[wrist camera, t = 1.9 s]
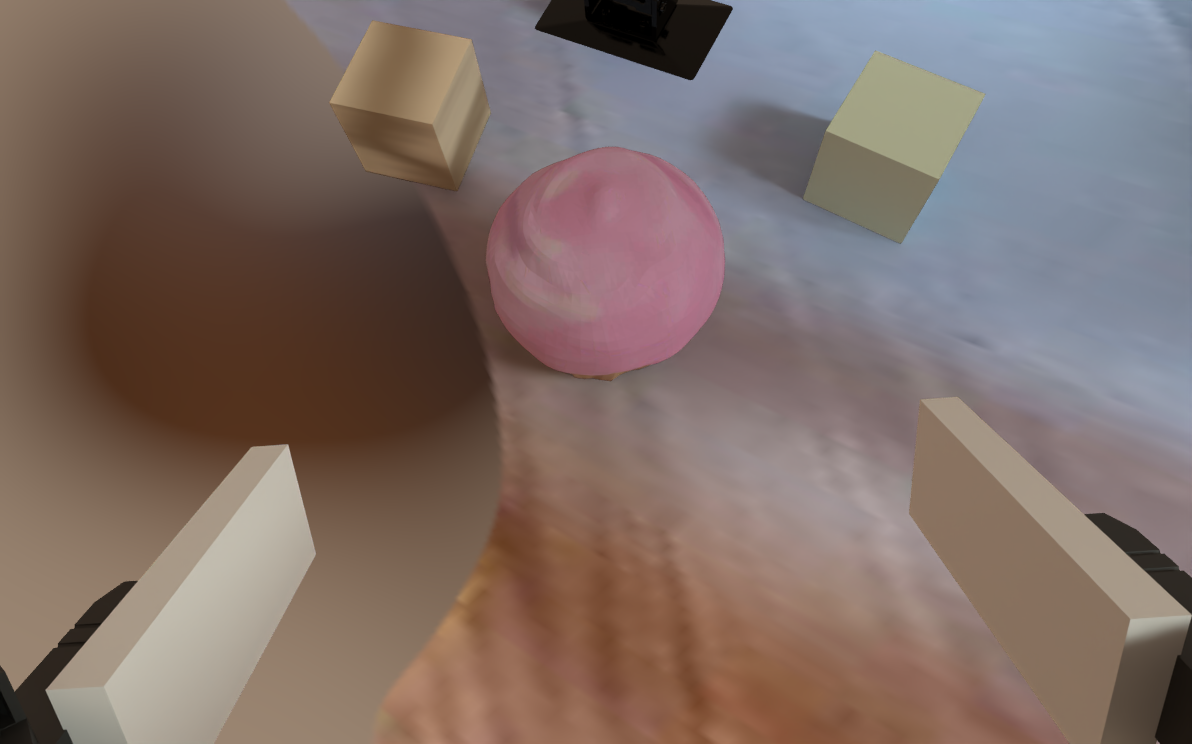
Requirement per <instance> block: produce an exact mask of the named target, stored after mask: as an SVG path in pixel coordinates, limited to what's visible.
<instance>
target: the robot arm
mask: <svg viewBox="0 0 1192 744" xmlns="http://www.w3.org/2000/svg"><path fill="white" fill-rule="evenodd" d="M909 514H910V516H911V517H912V518H913V520H914V521H915V523H916V524H917V526H918V527H919V529H920V530H921V531H922V533H923V534H924V536H925V537H926V539H927V540H928V541H929V543H930V544H931V546H932V547H933V549H934V550H935V551H936V553H937V554H938V556H939V557H940V559H941V560H942V561H943V563H944V564H945V566H946V567H947V569H948V570H949V572H950V573H951V574H952V576H953V577H954V579H955V580H956V582H957V583H958V584H959V586H960V587H961V589H962V590H963V592H964V593H965V594H966V596H967V597H968V599H969V600H970V602H971V603H972V604H973V606H974V607H975V609H976V610H977V612H978V613H979V615H980V616H981V617H982V619H983V620H984V622H985V623H986V625H987V626H988V627H989V629H990V630H991V632H992V633H993V635H994V636H995V637H996V639H997V640H998V642H999V643H1000V645H1001V646H1002V647H1003V649H1004V650H1005V652H1006V653H1007V655H1008V656H1009V658H1010V659H1011V660H1012V662H1013V663H1014V665H1015V666H1016V668H1017V669H1018V670H1019V672H1020V673H1021V675H1022V676H1023V678H1024V679H1025V680H1026V682H1027V683H1028V685H1029V686H1030V688H1031V689H1032V690H1033V692H1034V693H1035V695H1036V696H1037V698H1038V699H1039V701H1040V702H1041V703H1042V705H1043V706H1044V708H1045V709H1046V711H1047V712H1048V713H1049V715H1050V716H1051V718H1052V719H1053V721H1054V722H1055V723H1056V725H1057V726H1058V728H1059V729H1060V731H1061V732H1062V734H1063V735H1064V736H1065V738H1066V739H1067V741H1068V742H1069V744H1156V742H1157V740H1158V742H1159V743H1160V744H1192V578H1191V577H1190V576H1189V575H1188V574H1187V573H1186V572H1185V571H1180V570H1179V566H1178V565H1176V564H1175V563H1174V562H1173V561H1172V560H1171V559H1170V558H1168V557H1167V556H1166V555H1165V554H1160V550H1159V549H1158V548H1157V547H1156V546H1155V545H1153V544H1152V543H1151V542H1150V541H1149V540H1148V539H1147V538H1145V537H1144V536H1143V535H1142V534H1141V533H1140V532H1139V531H1137V530H1136V529H1134V528H1132V527H1130V526H1128V525H1126V524H1124V523H1122V522H1121V521H1119V520H1117V519H1115V518H1113V517H1111V516H1109V515H1107V514H1105V513H1096V514H1083V513H1082V512H1081V511H1080V510H1079V509H1077V508H1076V507H1075V506H1074V505H1073V504H1072V503H1071V502H1070V501H1069V500H1068V499H1067V498H1066V497H1065V496H1064V495H1062V494H1061V493H1060V492H1059V491H1058V490H1057V489H1056V488H1055V487H1054V486H1053V485H1052V484H1051V483H1050V482H1048V481H1047V480H1046V479H1045V478H1044V477H1043V476H1042V475H1041V474H1040V473H1039V472H1038V471H1037V470H1036V469H1035V468H1033V467H1032V466H1031V465H1030V464H1029V463H1028V462H1027V461H1026V460H1025V459H1024V458H1023V457H1022V456H1021V455H1019V454H1018V453H1017V452H1016V451H1015V450H1014V449H1013V448H1012V447H1011V446H1010V445H1009V444H1008V443H1007V442H1006V441H1004V440H1003V439H1002V438H1001V437H1000V436H999V435H998V434H997V433H996V432H995V431H994V430H993V429H992V428H990V427H989V426H988V425H987V424H986V423H985V422H984V421H983V420H982V419H981V418H980V417H979V416H978V415H977V414H975V413H974V412H973V411H972V410H971V409H970V408H969V407H968V406H967V405H966V404H965V403H964V402H963V401H962V400H960V399H959V398H958V397H949V398H935V399H920V406H919V416H918V427H917V437H916V447H915V458H914V468H913V478H912V488H911V499H910V509H909ZM315 555H316V552H315V548H314V544H313V540H312V536H311V533H310V528H309V525H308V521H307V517H306V513H305V509H304V506H303V501H302V497H301V493H300V489H299V486H298V482H297V478H296V474H295V470H294V466H293V462H292V459H291V454H290V450H289V447H288V444H287V445H273V446H259V447H251V448H250V450H249V451H248V452H247V453H246V454H245V456H244V457H243V458H242V459H241V460H240V461H239V463H238V464H237V465H236V466H235V467H234V468H233V470H232V471H231V472H230V473H229V474H228V475H227V477H226V478H225V479H224V480H223V482H222V483H221V484H220V485H219V486H218V487H217V488H216V490H215V491H214V492H213V493H212V494H211V496H210V497H209V498H208V499H207V500H206V501H205V503H204V504H203V505H202V506H201V507H200V509H199V510H198V511H197V512H196V513H195V514H194V516H193V517H192V518H191V519H190V520H189V522H188V523H187V524H186V525H185V526H184V527H183V529H182V530H181V531H180V532H179V533H178V535H177V536H176V537H175V538H174V539H173V540H172V542H171V543H170V544H169V545H168V546H167V548H166V549H165V550H164V551H163V552H162V553H161V555H160V556H159V557H158V558H157V559H156V561H155V562H154V563H153V564H152V565H151V566H150V568H149V569H148V570H147V571H146V572H145V574H144V575H143V576H142V577H141V578H140V579H139V581H128V582H123V583H122V584H120V585H119V586H117V587H116V588H114V589H113V590H112V591H110V592H109V593H107V594H106V595H104V596H103V597H102V598H100V599H99V600H97V601H96V602H95V603H94V604H93V605H92V606H91V607H90V608H89V609H88V610H87V612H86V613H85V614H84V615H83V616H82V617H81V618H80V619H79V620H78V622H77V623H76V624H75V628H74V629H70V631H69V632H68V633H67V634H66V635H65V636H64V637H63V638H62V639H61V641H60V642H59V643H58V647H57V648H53V649H52V651H51V652H50V653H49V654H48V655H47V656H46V657H45V658H44V660H43V661H42V662H41V663H40V664H39V665H38V666H37V667H36V669H35V670H34V671H33V672H32V673H31V674H30V675H29V676H28V677H27V679H26V680H25V681H24V682H23V683H22V684H21V685H20V686H19V688H18V689H17V690H16V691H15V692H14V690H13V688H12V686H11V684H10V681H9V679H8V677H7V675H6V673H5V671H4V670H3V669H2V667H1V666H0V744H214V743H215V741H216V739H217V737H218V735H219V733H220V731H221V730H222V728H223V726H224V724H225V722H226V720H227V719H228V717H229V715H230V713H231V711H232V709H233V707H234V706H235V704H236V702H237V700H238V698H239V696H240V694H241V693H242V691H243V689H244V687H245V685H246V683H247V681H248V680H249V678H250V676H251V674H252V672H253V670H254V668H255V667H256V665H257V663H258V661H259V659H260V657H261V655H262V654H263V651H264V650H265V648H266V646H267V644H268V642H269V641H270V639H271V636H272V635H273V633H274V631H275V629H276V628H277V626H278V624H279V622H280V620H281V618H282V616H283V615H284V612H285V611H286V609H287V607H288V605H289V603H290V601H291V600H292V598H293V596H294V594H295V592H296V590H297V588H298V587H299V585H300V583H301V581H302V579H303V577H304V576H305V574H306V572H307V570H308V568H309V566H310V564H311V563H312V561H313V559H314V557H315Z"/></svg>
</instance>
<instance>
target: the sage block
mask: <svg viewBox="0 0 1192 744" xmlns="http://www.w3.org/2000/svg"><path fill="white" fill-rule="evenodd" d="M984 96H985V94H984V93H981V92H979V91H976V90H974V89H971V88H969V87H966V86H964V85H961V84H959V83H956V82H954V81H951V80H948V79H946V78H943V77H941V76H938V75H936V74H933V73H931V72H928V71H926V70H923V69H921V68H918V67H916V66H913V65H911V64H908V63H906V62H903V61H900V60H898V59H895V58H893V57H890V56H888V55H885V54H883V53H880V52H878V51H875V52H874V54H873V55H872V57H871V58H870V60H869V62H868V63H867V65H866V66H865V68H864V70H863V71H862V73H861V75H860V76H859V78H858V79H857V81H856V83H855V84H854V86H853V87H852V89H851V91H850V92H849V94H848V95H847V97H846V99H845V100H844V102H843V104H842V105H841V107H840V108H839V110H838V112H837V113H836V115H835V116H834V118H833V120H832V121H831V123H830V125H829V126H828V128H827V129H826V131H825V134H824V137H823V140H822V143H821V146H820V149H819V152H818V155H817V158H816V161H815V164H814V167H813V170H812V173H811V176H810V179H809V182H808V185H807V188H806V191H805V194H804V197H803V200H805V201H808V202H810V203H812V204H814V205H816V206H819V207H821V208H823V209H825V210H827V211H830V212H832V213H834V214H836V215H838V216H841V217H843V218H845V219H847V220H849V221H852V222H854V223H856V224H858V225H860V226H863V227H865V228H867V229H869V230H871V231H873V232H876V233H878V234H880V235H882V236H884V237H887V238H889V239H891V240H893V241H895V242H898V243H900V244H901V243H902V242H903V240H904V238H905V237H906V235H907V233H908V231H909V230H910V228H911V226H912V225H913V223H914V221H915V220H916V218H917V216H918V215H919V213H920V211H921V210H922V208H923V206H924V204H925V203H926V201H927V199H928V198H929V196H930V194H931V193H932V191H933V189H934V188H935V186H936V184H937V183H938V181H939V179H940V177H941V175H942V174H943V172H944V170H945V168H946V166H947V164H948V163H949V161H950V159H951V157H952V155H953V153H954V152H955V150H956V148H957V146H958V144H959V142H960V141H961V139H962V137H963V135H964V133H965V131H966V129H967V128H968V126H969V124H970V122H971V120H972V118H973V117H974V115H975V113H976V111H977V109H978V107H979V106H980V104H981V102H982V100H983V98H984Z"/></svg>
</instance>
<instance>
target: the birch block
mask: <svg viewBox="0 0 1192 744" xmlns="http://www.w3.org/2000/svg"><path fill="white" fill-rule="evenodd" d="M329 103H330V105H331V107H332V109H333V111H334V113H335V114H336V116H337V118H338V120H339V122H340V124H341V126H342V127H343V129H344V131H345V133H346V135H347V137H348V139H349V141H350V142H351V144H352V146H353V148H354V150H355V152H356V153H357V156H358V158H359V159H360V161H361V163H362V165H363V167H364V169H365V171H366V172H370V173H374V174H379V175H383V176H388V177H392V178H397V179H401V180H405V181H410V182H418V183H422V184H427V185H431V186H436V187H440V188H445V189H449V190H453V191H458V189H459V186H460V184H461V182H462V179H463V177H464V175H465V172H466V170H467V168H468V165H469V163H470V160H471V158H472V156H473V153H474V151H475V149H476V146H477V144H478V142H479V139H480V137H481V135H482V132H483V130H484V128H485V125H486V123H487V121H488V118H489V116H490V114H491V112H490V108H489V104H488V100H487V97H486V93H485V89H484V85H483V81H482V77H481V74H480V70H479V66H478V62H477V58H476V55H475V51H474V47H473V43H472V39H467V38H462V37H456V36H451V35H446V34H441V33H435V32H430V31H425V30H420V29H414V28H409V27H404V26H399V25H393V24H388V23H383V22H378V21H373V20H372V22H371V24H370V26H369V28H368V30H367V32H366V33H365V35H364V37H363V39H362V41H361V43H360V45H359V47H358V49H357V51H356V52H355V54H354V56H353V58H352V60H351V62H350V64H349V66H348V68H347V70H346V71H345V73H344V75H343V77H342V79H341V81H340V83H339V85H338V87H337V89H336V90H335V92H334V94H333V96H332V98H331V100H330V102H329Z"/></svg>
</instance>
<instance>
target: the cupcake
mask: <svg viewBox="0 0 1192 744" xmlns="http://www.w3.org/2000/svg"><path fill="white" fill-rule="evenodd" d="M486 266H487V269H488V276H489V280H490V285H491V294H492V297H493V300H494V303H495V304H494V308H495V310H496V312H497V314H498V315H499V317H500V319H501V321H502V322H503V324H504V326H505V327H506V328H507V330H508V331H509V332H510V333H511V335H512V336H513V337H514V338H515V339H516V340H517V341H518V342H519V343H520V344H521V345H522V346H523V347H524V348H525V349H526V350H528V351H529V352H530V353H531V354H532V355H533V356H534V357H536V358H537V359H538V360H539V361H541V362H542V363H543V364H545V365H546V366H548V367H550V368H552V369H554V370H558V371H561V372H565V373H571V374H572V375H573V376H574V377H576V378H583V379H587V378H595V379H599V380H607V381H612V380H613V379H615V378H616V377H618V376H619V375H621V374H623V373H625V372H628V371H630V370H637V369H641V368H644V367H646V366H649V365H651V364H657V363H659V362H661V361H663V360H666V359H668V358H669V357H671V356H673V355H674V354H676V353H677V352H679V351H680V350H681V349H682V348H683V347H684V346H685V345H686V344H687V343H688V342H689V341H690V340H691V339H692V338H693V337H694V336H695V334H696V333H697V332H698V331H699V329H700V328H701V327H702V326H703V325H704V323H705V322H706V321H707V319H708V318H709V316H710V315H711V314H712V312H713V310H714V308H715V306H716V303H717V301H718V298H719V296H720V293H721V289H722V285H723V279H724V271H725V255H724V241H723V236H722V232H721V228H720V224H719V221H718V218H717V216H716V214H715V212H714V210H713V208H712V206H711V204H710V203H709V201H708V199H707V198H706V196H705V195H704V193H703V192H702V191H701V190H700V188H699V187H698V186H697V185H696V183H695V182H694V181H693V180H692V179H691V178H690V177H688V176H687V175H686V174H685V173H684V172H682V171H681V170H679V169H678V168H676V167H675V166H673V165H671V164H670V163H668V162H666V161H664V160H662V159H661V158H658V157H655V156H652V155H650V154H646V153H641V152H637V151H631V150H628V149H625V148H620V147H603V148H597V149H593V150H589V151H586V152H583V153H581V154H578V155H575V156H573V157H571V158H568V159H566V160H563V161H560V162H557V163H554V164H552V165H549V166H547V167H545V168H543V169H541V170H539V171H537V172H535V173H533V174H532V175H531V176H529V177H528V178H527V179H526V180H525V181H524V182H523V183H522V184H521V185H520V186H519V187H518V188H517V189H516V190H515V191H514V192H513V193H512V194H511V195H510V196H509V197H508V198H507V199H506V201H505V202H504V203H503V204H502V206H501V207H500V209H499V211H498V213H497V215H496V217H495V219H494V221H493V224H492V227H491V229H490V232H489V237H488V242H487V250H486Z"/></svg>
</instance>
